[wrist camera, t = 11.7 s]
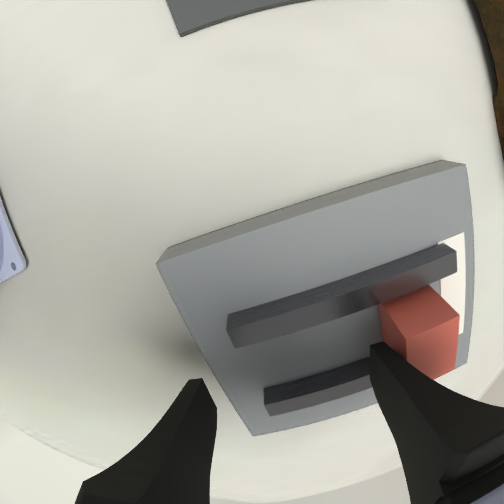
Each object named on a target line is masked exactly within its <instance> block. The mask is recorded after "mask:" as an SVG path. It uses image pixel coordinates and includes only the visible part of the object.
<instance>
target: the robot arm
mask: <svg viewBox="0 0 504 504" xmlns="http://www.w3.org/2000/svg"><path fill="white" fill-rule="evenodd" d="M15 265H16V266H15ZM25 268H26V260H25V258H24V255H23V253H22V251H21V249H20V246H19V244H18V242H17V239H16V237H15V235H14V232H13V230H12V227H11V225H10V222H9V219H8V217H7V214H6V211H5V208H4V206H3V203H2V200H1V197H0V283H1V282H3V281H5V280H7V279H9V278H10V277H12V276H14V275H16V274H18V273H19V272H21V271H23V270H24V269H25ZM370 381H371V384H372V388H373V391H374V394H375V397H376V399H377V402H378V404H379V406H380V408H381V410H382V413H383V415H384V417H385V419H386V421H387V423H388V426H389V428H390V430H391V432H392V434H393V437H394V439H395V442H396V445H397V448H398V451H399V455H400V458H401V462H402V465H403V469H404V473H405V477H406V481H407V486H408V491H409V495H410V501H411V504H504V408H503V407H498V406H493V405H489V404H486V403H483V402H479V401H476V400H473V399H471V398H468V397H466V396H463V395H461V394H458V393H456V392H454V391H452V390H450V389H448V388H446V387H444V386H443V385H441V384H439V383H437V382H436V381H434V380H433V379H431V378H430V377H428V376H427V375H425V374H424V373H422V372H421V371H419V370H418V369H417V368H415V367H414V366H413V365H411V364H410V363H409V362H408V361H406V360H405V359H404V358H403V357H401V356H400V355H399V354H398V353H397V352H395V351H394V350H393V349H392V348H391V347H390V346H389V345H387V344H386V343H385V342H384V341H382V342H379V343H375V344H372V345H370ZM216 430H217V407H216V405H215V403H214V401H213V399H212V397H211V395H210V393H209V391H208V389H207V387H206V385H205V383H204V381H203V379H202V378H200V379H191V380H189V381H188V382H187V383H186V385H185V386H184V388H183V389H182V391H181V392H180V393H179V395H178V396H177V398H176V399H175V401H174V402H173V404H172V405H171V406H170V408H169V409H168V411H167V412H166V413H165V415H164V416H163V417H162V419H161V420H160V421H159V422H158V423H157V425H156V426H155V427H154V428H153V430H152V431H151V432H150V433H149V434H148V435H147V436H146V437H145V438H144V439H143V440H142V441H141V442H140V443H139V444H138V445H137V446H136V447H135V448H134V449H132V450H131V451H130V452H129V453H128V454H126V455H125V456H124V457H123V458H122V459H120V460H119V461H118V462H116V463H115V464H113V465H112V466H110V467H109V468H107V469H106V470H104V471H102V472H101V473H99V474H97V475H95V476H93V477H91V478H89V479H87V480H85V481H83V483H82V486H81V488H80V491H79V493H78V496H77V499H76V501H75V504H210V495H209V493H210V470H211V463H212V457H213V450H214V444H215V437H216Z"/></svg>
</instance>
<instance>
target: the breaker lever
mask: <svg viewBox="0 0 504 504" xmlns="http://www.w3.org/2000/svg"><path fill="white" fill-rule="evenodd" d="M378 308H379V315H380V322H381V329H382V338H383V341H384V342H385V343H386V344H387V345H389V346H390V347H391V348H392V349H393V350H394V351H395V352H397V353H398V354H399V355H400V356H401V357H403V358H404V359H405V360H406V361H408V362H409V363H410V364H411V365H413V366H414V367H415V368H417V369H418V370H419V371H421V372H422V373H424V374H425V375H427V376H428V377H430V378H431V379H436V378H438V377H440V376H442V375H444V374H446V373H448V372H450V371H452V370H454V369H455V363H456V355H457V346H458V335H459V321H460V315H459V314H458V313H457V312H456V311H455V310H454V309H453V308H452V307H451V306H450V305H449V304H448V303H447V302H446V301H445V300H444V299H443V298H442V297H441V296H440V295H439V294H438V293H437V292H436V291H435V290H434V289H433V288H432V287H431V286H430V285H426V286H424V287H421V288H419V289H417V290H414V291H412V292H409V293H407V294H404V295H402V296H399V297H396V298H394V299H391V300H389V301H386V302H383V303H381V304H378Z"/></svg>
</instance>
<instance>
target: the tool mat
mask: <svg viewBox="0 0 504 504" xmlns="http://www.w3.org/2000/svg"><path fill="white" fill-rule="evenodd" d="M166 1H167V4H168V6H169V9H170V12H171V14H172V17H173V19H174V22H175V25H176V27H177V30H178V33H179V35H180V36H181V37H182V36H185V35H187V34H190V33H192V32H195V31H198V30H200V29H203V28H206V27H209V26H211V25H214V24H217V23H220V22H223V21H226V20H229V19H233V18H236V17H239V16H243V15H246V14H250V13H254V12H257V11H261V10H265V9H269V8H274V7H278V6H283V5H288V4H293V3H298V2H304V1H309V0H166Z"/></svg>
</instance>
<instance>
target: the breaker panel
mask: <svg viewBox="0 0 504 504" xmlns="http://www.w3.org/2000/svg"><path fill="white" fill-rule="evenodd" d="M156 266H157V268H158V270H159V272H160V274H161V276H162V278H163V280H164V282H165V284H166V287H167V289H168V291H169V293H170V295H171V297H172V299H173V301H174V303H175V304H176V306H177V308H178V310H179V312H180V314H181V316H182V318H183V320H184V322H185V324H186V326H187V327H188V329H189V331H190V333H191V335H192V337H193V339H194V340H195V342H196V344H197V346H198V348H199V349H200V351H201V353H202V355H203V356H204V358H205V360H206V362H207V363H208V365H209V367H210V369H211V370H212V372H213V374H214V376H215V377H216V379H217V381H218V382H219V384H220V386H221V387H222V389H223V391H224V392H225V394H226V395H227V397H228V399H229V400H230V402H231V404H232V405H233V407H234V408H235V410H236V411H237V413H238V415H239V416H240V418H241V419H242V421H243V422H244V424H245V425H246V427H247V428H248V430H249V432H250V433H251V435H252V436H258V435H263V434H268V433H273V432H278V431H283V430H287V429H292V428H296V427H300V426H304V425H308V424H312V423H316V422H319V421H323V420H327V419H330V418H334V417H337V416H340V415H343V414H347V413H350V412H353V411H356V410H359V409H362V408H365V407H368V406H370V405H373V404H376V403H378V402H377V399H376V397H375V394H374V391H373V388H372V384H371V381H370V345H372V344H375V343H379V342H382V341H383V338H382V329H381V322H380V315H379V308H378V304H381V303H383V302H386V301H389V300H391V299H394V298H396V297H399V296H402V295H404V294H407V293H409V292H412V291H414V290H417V289H419V288H421V287H424V286H426V285H430V286H431V287H432V288H433V289H434V290H435V291H436V292H437V293H438V294H439V295H440V296H441V297H442V298H443V299H444V300H445V301H446V302H447V303H448V304H449V305H450V306H451V307H452V308H453V309H454V310H455V311H456V312H457V313H458V314H459V315H460V321H459V335H458V346H457V355H456V363H455V369H456V368H458V367H460V366H462V365H463V364H465V363H467V358H468V352H469V344H470V336H471V327H472V315H473V301H474V233H473V218H472V207H471V197H470V189H469V182H468V175H467V168H466V164H462V163H456V162H451V161H445V160H441V161H437V162H433V163H430V164H426V165H423V166H419V167H416V168H412V169H409V170H405V171H402V172H398V173H395V174H391V175H388V176H385V177H381V178H378V179H374V180H371V181H368V182H364V183H361V184H358V185H355V186H351V187H348V188H345V189H342V190H338V191H335V192H332V193H329V194H326V195H322V196H319V197H316V198H313V199H310V200H307V201H303V202H300V203H297V204H294V205H291V206H288V207H285V208H282V209H279V210H276V211H273V212H270V213H267V214H264V215H261V216H258V217H255V218H252V219H249V220H246V221H243V222H240V223H237V224H234V225H231V226H228V227H225V228H222V229H220V230H217V231H214V232H211V233H208V234H205V235H202V236H200V237H197V238H194V239H191V240H188V241H185V242H183V243H180V244H177V245H174V246H172V247H169V248H168V249H167V250H166V251H165V253H164V254H163V255H162V256H161V258H160V259H159V260H158V262H157V263H156ZM433 380H434V379H433Z"/></svg>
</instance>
